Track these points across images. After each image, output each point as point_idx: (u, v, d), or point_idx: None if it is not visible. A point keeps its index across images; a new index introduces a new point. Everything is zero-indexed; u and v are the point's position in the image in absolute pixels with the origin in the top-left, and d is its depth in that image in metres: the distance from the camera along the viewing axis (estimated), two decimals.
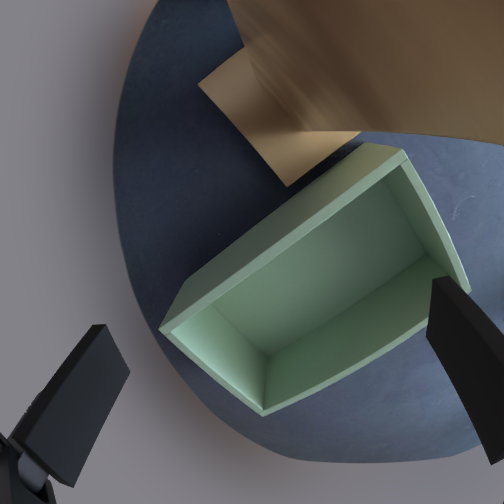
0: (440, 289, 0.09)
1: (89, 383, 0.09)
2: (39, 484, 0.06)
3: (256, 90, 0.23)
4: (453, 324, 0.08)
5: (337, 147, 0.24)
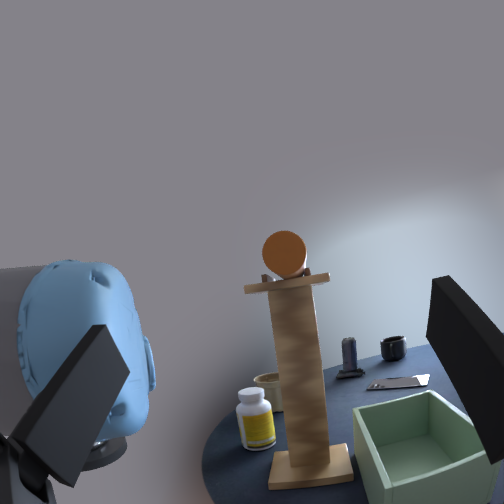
0: (440, 289, 0.09)
1: (89, 383, 0.09)
2: (39, 484, 0.06)
3: (296, 469, 0.36)
4: (453, 324, 0.08)
5: (348, 455, 0.38)
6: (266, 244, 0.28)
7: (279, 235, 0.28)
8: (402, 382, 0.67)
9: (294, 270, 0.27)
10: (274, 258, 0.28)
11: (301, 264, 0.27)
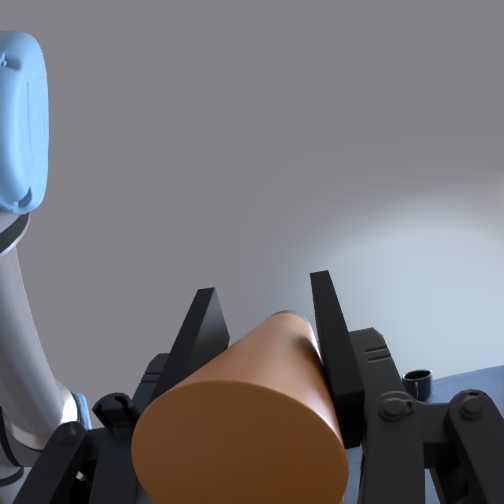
0: (311, 282, 0.12)
1: (209, 344, 0.11)
2: None
3: None
4: None
5: None
6: (140, 448, 0.05)
7: (184, 409, 0.04)
8: None
9: None
10: (196, 503, 0.04)
11: None
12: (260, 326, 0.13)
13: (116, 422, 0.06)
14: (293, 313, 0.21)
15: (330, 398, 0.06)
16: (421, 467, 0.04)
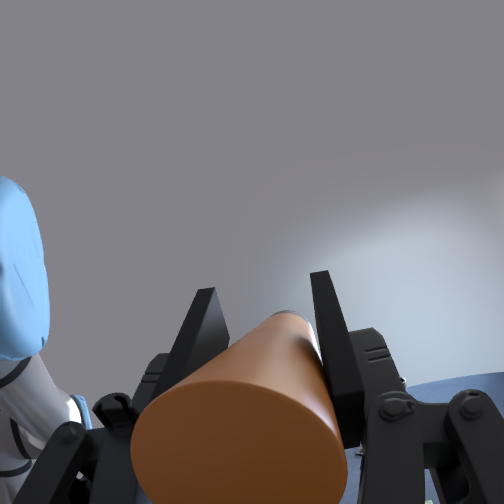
0: (311, 282, 0.12)
1: (209, 344, 0.11)
2: None
3: None
4: (317, 314, 0.11)
5: None
6: (139, 448, 0.05)
7: (183, 409, 0.04)
8: None
9: None
10: (194, 503, 0.04)
11: None
12: (260, 326, 0.13)
13: (116, 422, 0.06)
14: (293, 313, 0.21)
15: (329, 398, 0.06)
16: (421, 467, 0.04)
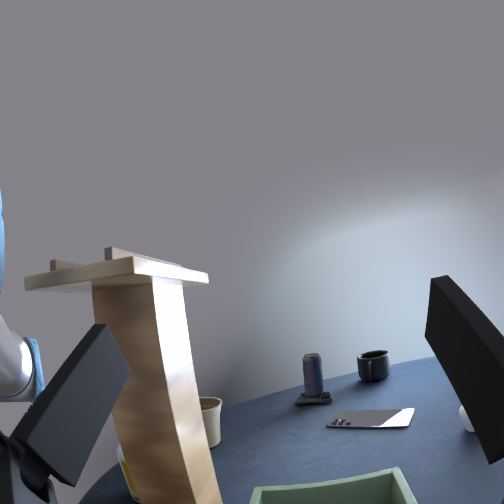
0: (438, 289, 0.09)
1: (90, 382, 0.09)
2: (40, 483, 0.06)
3: None
4: (451, 324, 0.08)
5: None
6: None
7: None
8: (376, 418, 0.48)
9: None
10: None
11: None
12: None
13: None
14: None
15: None
16: None
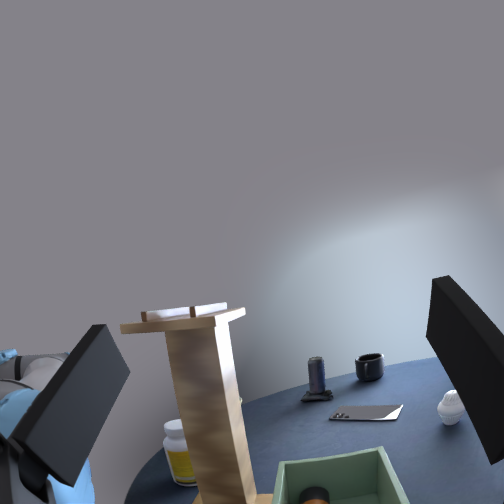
0: (440, 289, 0.09)
1: (89, 383, 0.09)
2: (39, 483, 0.06)
3: None
4: (453, 324, 0.08)
5: None
6: None
7: None
8: (370, 412, 0.59)
9: None
10: None
11: None
12: None
13: None
14: (315, 496, 0.28)
15: None
16: None
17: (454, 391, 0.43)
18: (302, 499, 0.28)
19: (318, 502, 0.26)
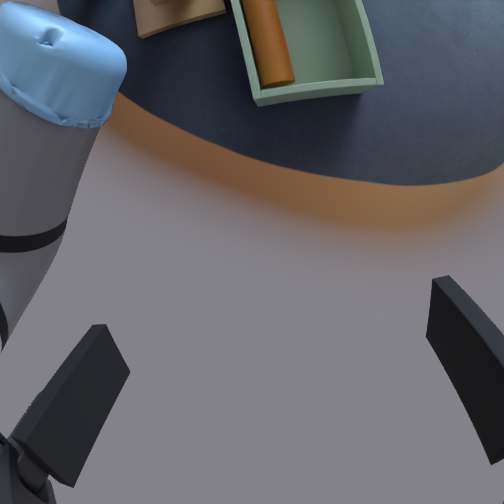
0: (440, 289, 0.09)
1: (89, 383, 0.09)
2: (39, 484, 0.06)
3: (161, 7, 0.29)
4: (452, 324, 0.08)
5: None
6: (265, 87, 0.33)
7: (265, 85, 0.32)
8: None
9: (293, 81, 0.32)
10: (278, 85, 0.33)
11: (293, 81, 0.31)
12: (247, 20, 0.28)
13: None
14: None
15: (280, 62, 0.29)
16: None
17: None
18: None
19: None
